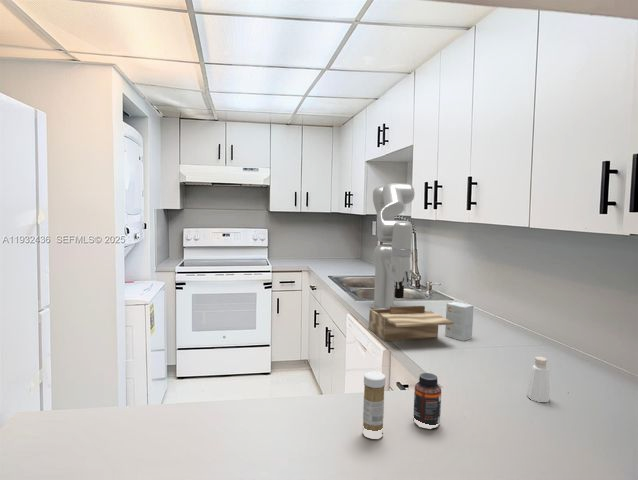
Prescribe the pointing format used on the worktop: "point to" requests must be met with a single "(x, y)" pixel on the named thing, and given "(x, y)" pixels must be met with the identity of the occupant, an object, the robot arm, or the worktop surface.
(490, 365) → the worktop surface
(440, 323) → the mailer lid
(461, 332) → the small box
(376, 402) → the sprinkles bottle
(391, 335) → the mailer box
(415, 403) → the supplement bottle
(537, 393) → the pepper shaker
